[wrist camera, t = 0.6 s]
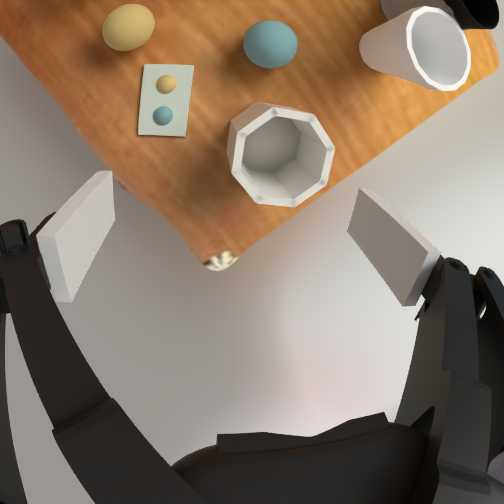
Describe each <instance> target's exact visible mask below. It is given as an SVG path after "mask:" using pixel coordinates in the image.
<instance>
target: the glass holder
mask: <svg viewBox="0 0 504 504" xmlns="http://www.w3.org/2000/svg"><path fill="white" fill-rule="evenodd" d="M380 2H381V7H382V10H383V13H384V15H385V17H386V18H387V20H388V21H390V20H392V19H394V18H396V17H398V16H399V15H401V14H402V13H404V12H406V11H408V10H410V9H412V8H417V7H422V6H428V7H434V8H439V9H441V10H442V11H444V12H445V13H447V14H448V15H450V16H451V17H452V18H454V20H455V21H456V23H457V24H458V25H459V27H460V28H461V29H462V30H468V29H493V28H495V27H496V26H497V24H498V22H499V9H498V5H497V2H496V0H380Z"/></svg>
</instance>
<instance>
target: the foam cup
mask: <svg viewBox="0 0 504 504" xmlns="http://www.w3.org/2000/svg"><path fill="white" fill-rule="evenodd" d="M359 52H360V54H361V56H362V59H363V61H364V62H365V63H366V64H367V65H368V66H369V67H370V68H371V69H374V70H376V71H378V72H382V73H385V74H389V75H392V76H396V77H399V78H402V79H406V80H409V81H412V82H415V83H418V84H420V85H422V86H424V87H426V88H428V89H434V90H439V91H452V90H456V89H457V88H459V87H460V86H461V85H462V84H464V83H465V81H466V79H467V76H468V74H469V71H470V49H469V46H468V43H467V40H466V37H465V34H464V32H463V31H462V29H461V28H460V27H459V25H458V24H457V23H456V21H455V20H454V18H452V17H451V16H450V15H448V14H447V13H445V12H444V11H442V10H441V9H439V8H434V7H428V6H422V7H417V8H412V9H410V10H408V11H406V12H404V13H402V14H401V15H399V16H398V17H396V18H394V19H392V20H390V21H388V22H385V23H383V24H381V25H379V26H377V27H375V28H373V29H371V30H370V31H368V32H366V33H365V34H363V36H362V38H361V40H360V42H359Z"/></svg>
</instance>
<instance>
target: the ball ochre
mask: <svg viewBox="0 0 504 504" xmlns="http://www.w3.org/2000/svg"><path fill="white" fill-rule="evenodd" d="M154 26H155V20H154V17H153V14H152V13H151V11H150V10H149V9H148V8H146V7H145V6H143V5H139V4H126V5H122V6H120V7H118V8H116V9H115V10H113V11H112V12H111V13H110V14H109V15H108V16H107V18H106V19H105V21H104V23H103V27H102V36H103V39H104V41H105V42H106V44H107V45H108V46H109V47H111V48H113V49H115V50H118V51H130V50H133V49H136V48H138V47H140V46H142V45H143V44H144V43H146V42H147V41H148V39H149V38H150V37H151V35H152V33H153V31H154Z"/></svg>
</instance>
